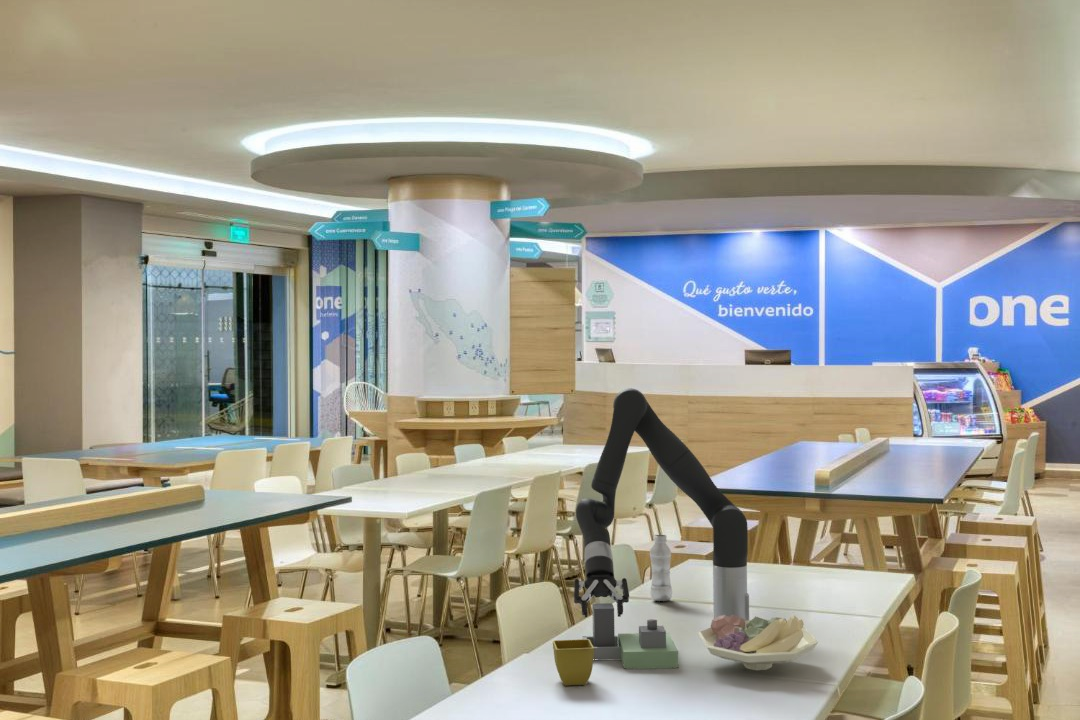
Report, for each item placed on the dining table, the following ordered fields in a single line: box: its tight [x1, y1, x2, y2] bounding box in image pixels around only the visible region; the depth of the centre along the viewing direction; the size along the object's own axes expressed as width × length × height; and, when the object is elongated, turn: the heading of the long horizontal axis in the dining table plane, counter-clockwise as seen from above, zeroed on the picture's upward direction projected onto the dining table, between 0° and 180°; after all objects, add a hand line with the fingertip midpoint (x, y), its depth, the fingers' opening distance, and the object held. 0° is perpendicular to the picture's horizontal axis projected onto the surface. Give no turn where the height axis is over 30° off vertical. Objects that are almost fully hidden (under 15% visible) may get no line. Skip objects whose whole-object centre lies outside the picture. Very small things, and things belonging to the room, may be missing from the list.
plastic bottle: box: [649, 534, 673, 602], centre depth 344 cm, size 6×7×20 cm
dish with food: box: [698, 615, 819, 671], centre depth 270 cm, size 28×28×14 cm
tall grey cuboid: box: [592, 602, 616, 647], centre depth 284 cm, size 5×6×12 cm
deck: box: [582, 618, 679, 669], centre depth 280 cm, size 22×20×10 cm
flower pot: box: [552, 638, 594, 687], centre depth 259 cm, size 9×9×9 cm
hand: (602, 615), depth 290 cm, fingers open, 8 cm apart
